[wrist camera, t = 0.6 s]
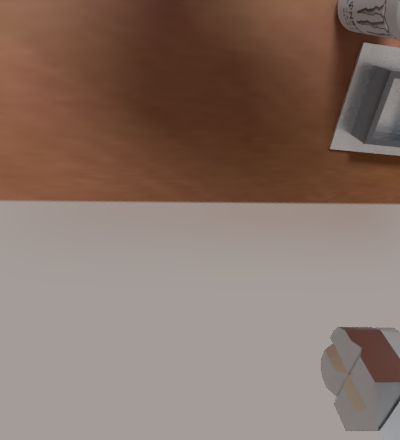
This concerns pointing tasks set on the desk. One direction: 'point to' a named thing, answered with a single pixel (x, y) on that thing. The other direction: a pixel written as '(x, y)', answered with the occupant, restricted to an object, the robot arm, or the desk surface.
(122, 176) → the desk surface
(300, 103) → the desk surface
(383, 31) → the energy drink can
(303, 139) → the desk surface
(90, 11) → the desk surface
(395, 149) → the socket
